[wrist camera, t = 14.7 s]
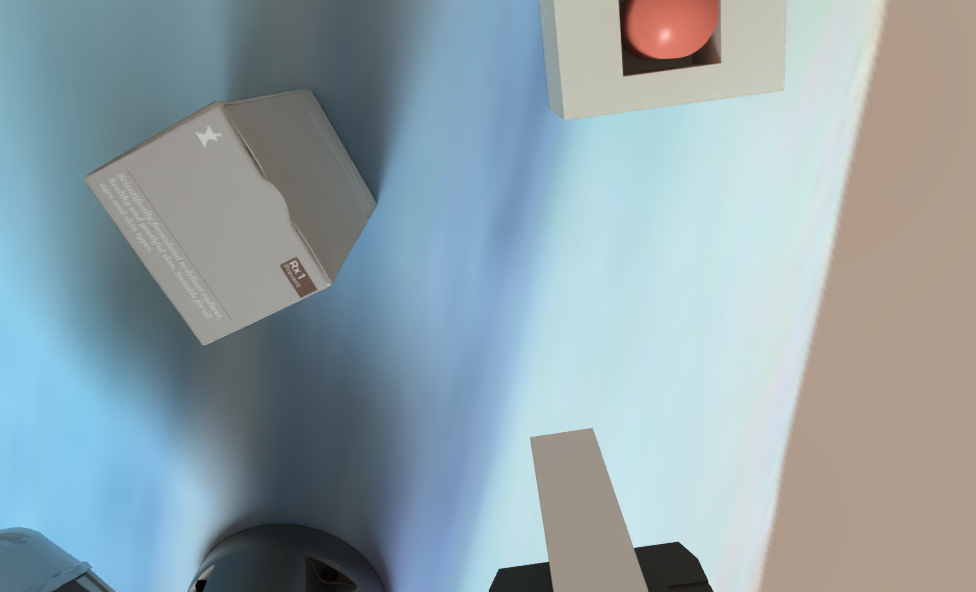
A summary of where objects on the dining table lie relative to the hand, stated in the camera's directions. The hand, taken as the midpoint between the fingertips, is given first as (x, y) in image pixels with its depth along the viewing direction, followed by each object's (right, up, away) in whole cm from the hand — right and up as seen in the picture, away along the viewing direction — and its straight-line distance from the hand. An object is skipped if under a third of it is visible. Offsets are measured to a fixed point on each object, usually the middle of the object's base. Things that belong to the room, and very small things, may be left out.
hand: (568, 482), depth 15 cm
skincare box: (-13, +12, +24) cm, 30 cm away
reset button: (+6, +18, +16) cm, 25 cm away
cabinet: (+6, +20, +21) cm, 30 cm away
